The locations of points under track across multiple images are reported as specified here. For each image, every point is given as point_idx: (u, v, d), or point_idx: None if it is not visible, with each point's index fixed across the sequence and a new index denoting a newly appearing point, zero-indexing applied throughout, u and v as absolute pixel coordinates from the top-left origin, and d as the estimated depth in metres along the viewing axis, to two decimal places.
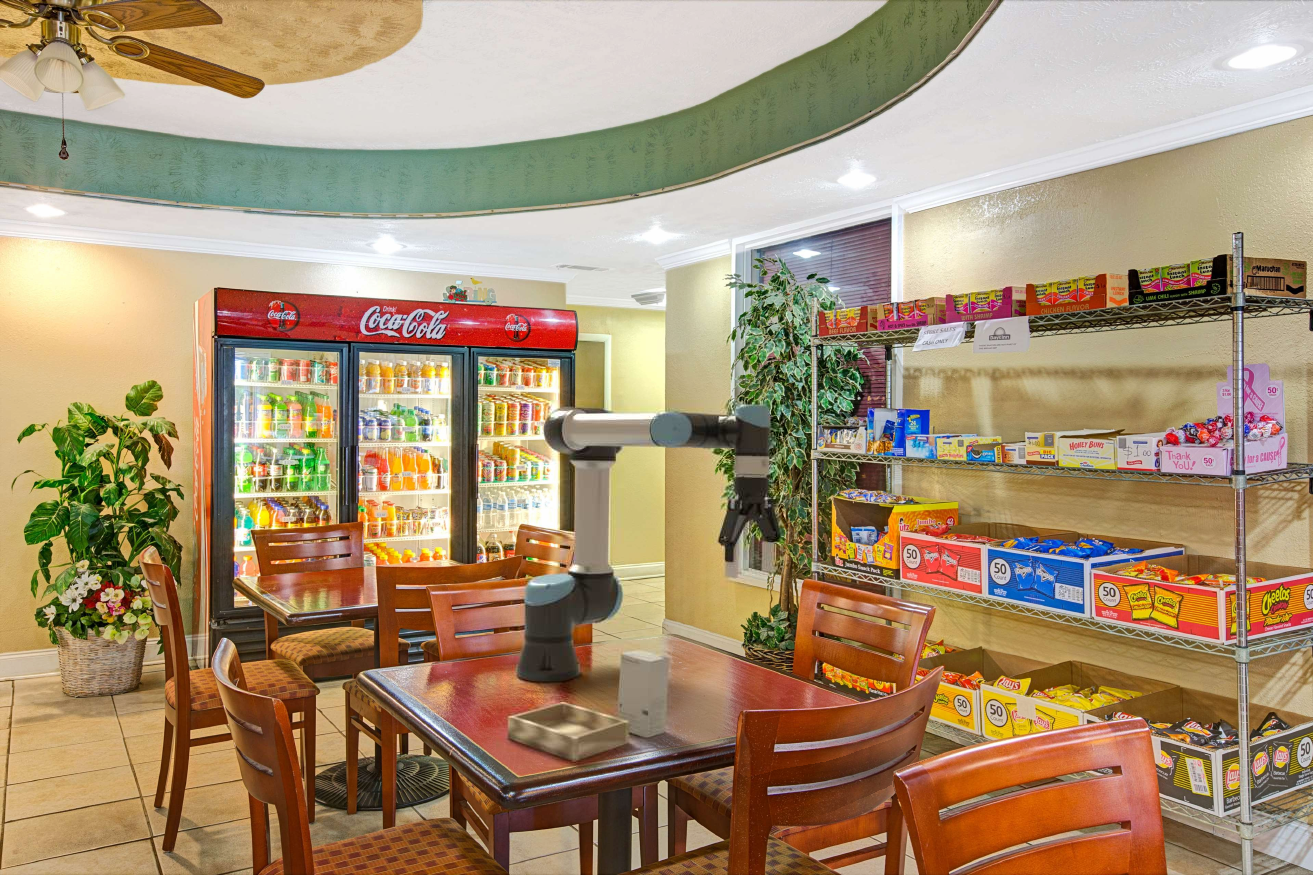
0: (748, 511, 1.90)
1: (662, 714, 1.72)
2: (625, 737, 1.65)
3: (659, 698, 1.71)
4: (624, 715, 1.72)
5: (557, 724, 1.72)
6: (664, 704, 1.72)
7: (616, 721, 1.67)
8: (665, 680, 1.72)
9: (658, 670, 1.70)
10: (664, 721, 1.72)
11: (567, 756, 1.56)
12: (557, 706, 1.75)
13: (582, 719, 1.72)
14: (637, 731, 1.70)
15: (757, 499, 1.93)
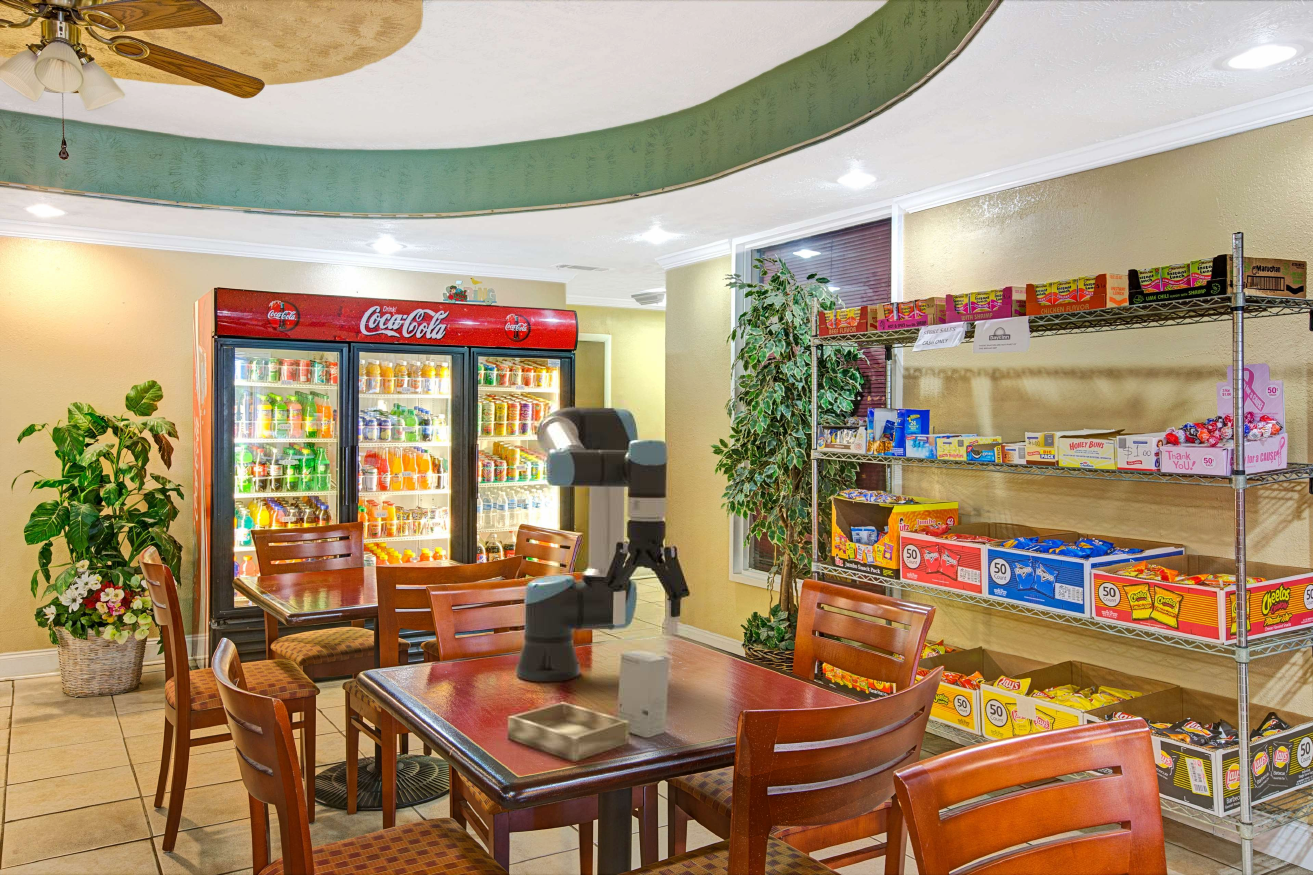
0: None
1: (662, 714, 1.72)
2: (625, 737, 1.65)
3: (659, 698, 1.71)
4: (624, 715, 1.72)
5: (557, 724, 1.72)
6: (664, 704, 1.72)
7: (616, 721, 1.67)
8: (665, 680, 1.72)
9: (658, 670, 1.70)
10: (664, 721, 1.72)
11: (567, 756, 1.56)
12: (557, 706, 1.75)
13: (582, 719, 1.72)
14: (637, 731, 1.70)
15: (644, 545, 1.72)
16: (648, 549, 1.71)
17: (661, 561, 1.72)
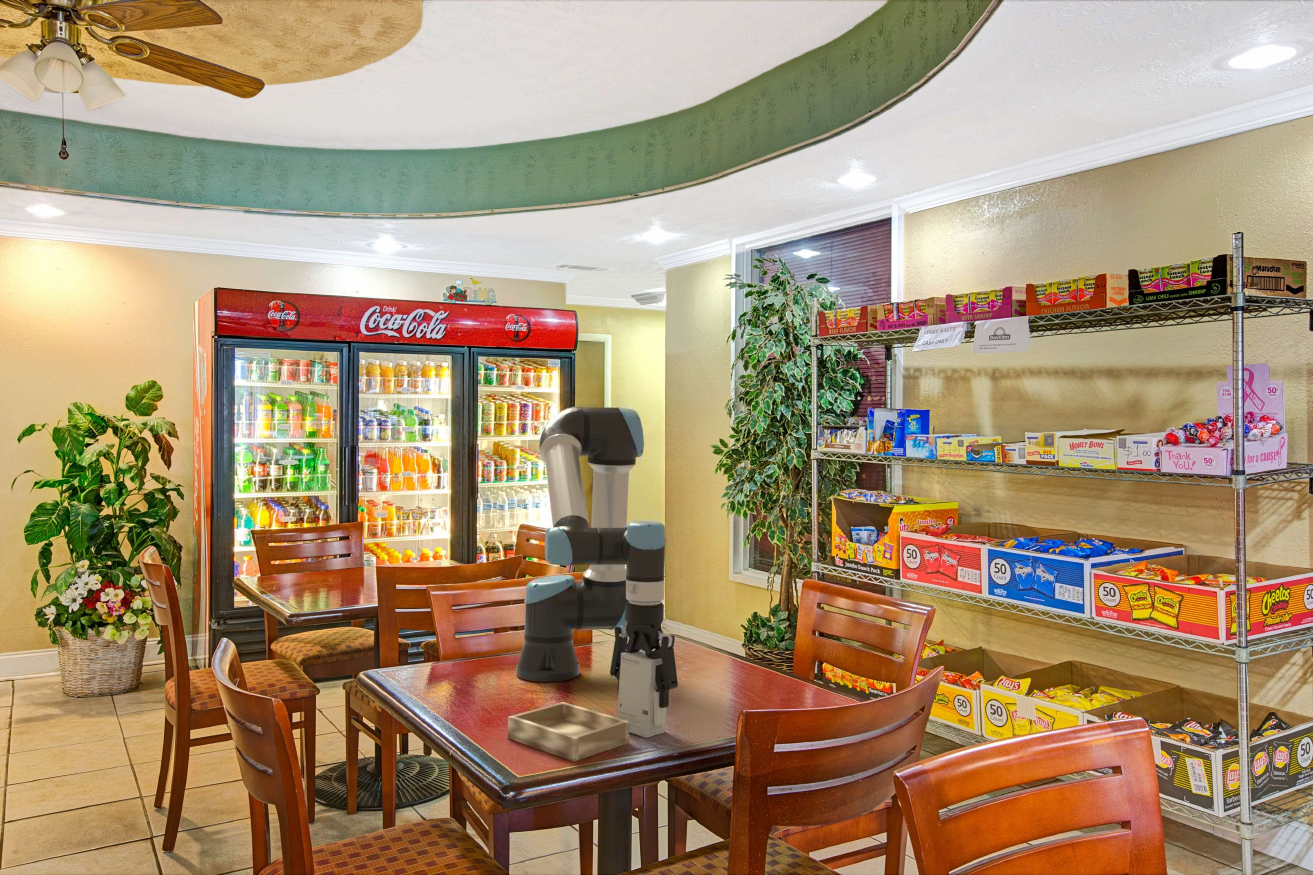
0: None
1: None
2: (625, 737, 1.65)
3: None
4: (623, 715, 1.72)
5: (557, 724, 1.72)
6: None
7: (616, 721, 1.67)
8: None
9: None
10: None
11: (567, 756, 1.56)
12: (557, 706, 1.75)
13: (582, 719, 1.72)
14: (637, 730, 1.70)
15: (644, 625, 1.72)
16: (646, 630, 1.71)
17: (657, 646, 1.72)
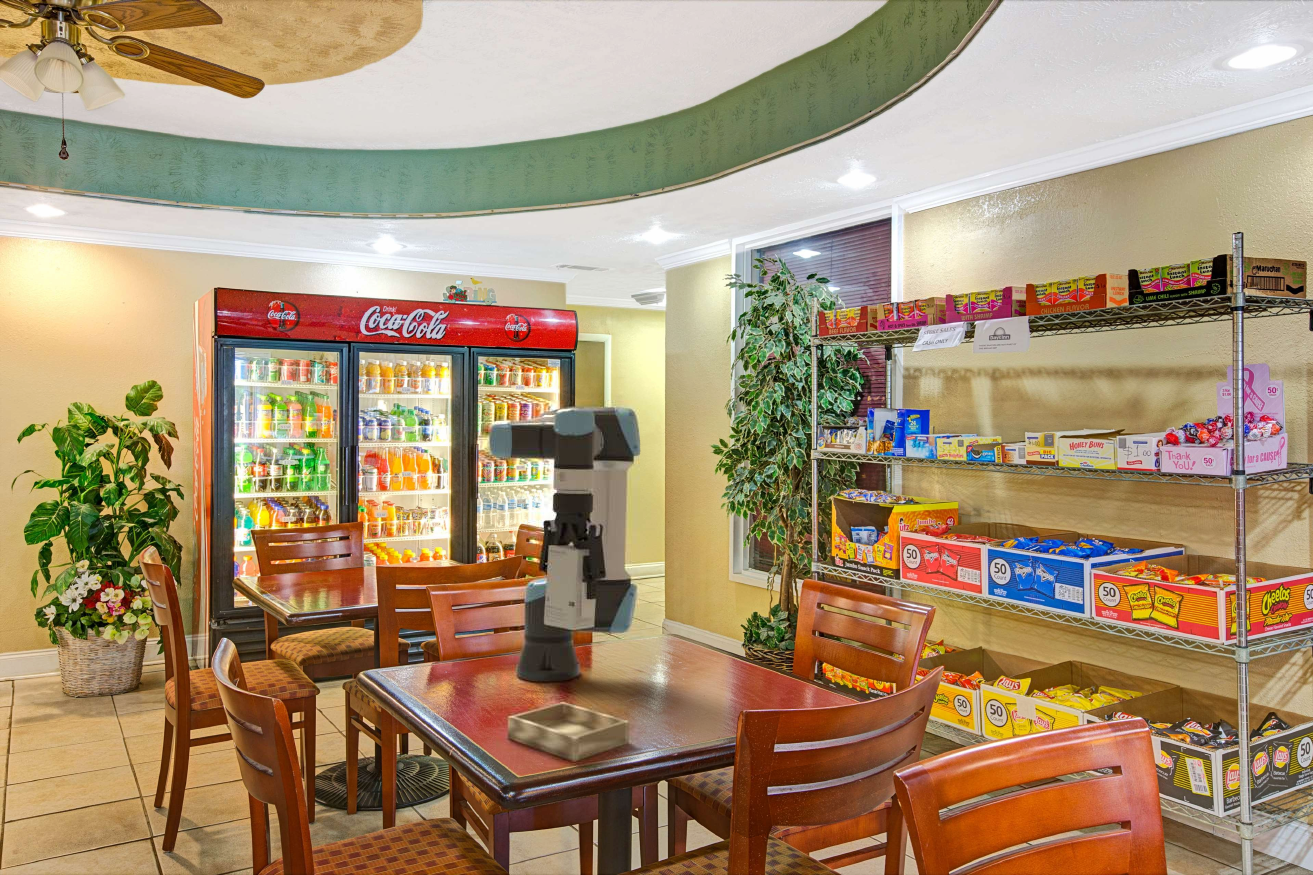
0: None
1: None
2: (625, 737, 1.65)
3: None
4: (551, 609, 1.66)
5: (557, 724, 1.72)
6: None
7: (616, 721, 1.67)
8: None
9: None
10: None
11: (567, 756, 1.56)
12: (557, 706, 1.75)
13: (582, 719, 1.72)
14: (564, 624, 1.64)
15: (572, 515, 1.65)
16: (574, 521, 1.65)
17: (586, 537, 1.66)
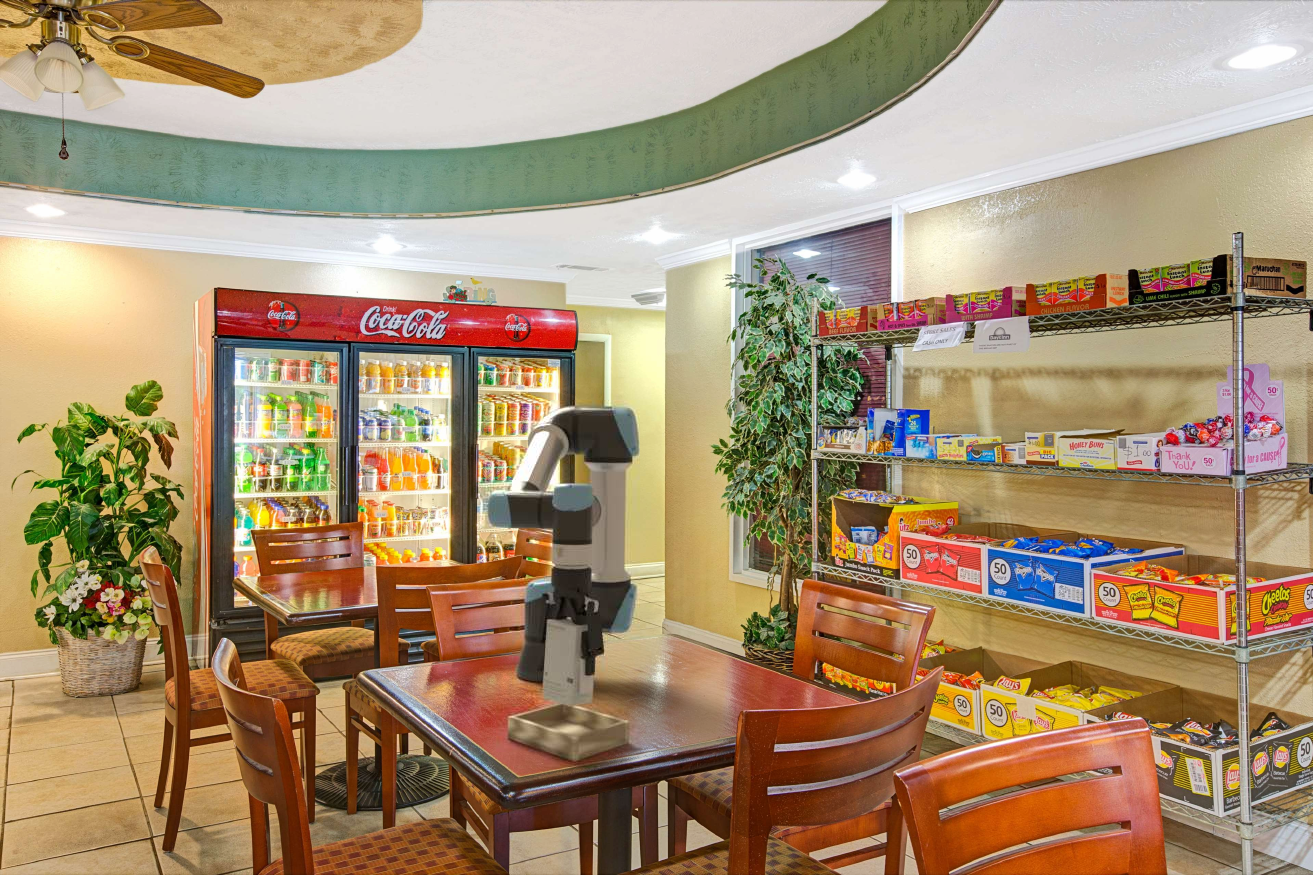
0: None
1: None
2: (625, 737, 1.65)
3: None
4: (549, 684, 1.66)
5: (557, 724, 1.72)
6: None
7: (616, 721, 1.67)
8: None
9: None
10: None
11: (567, 756, 1.56)
12: (557, 706, 1.75)
13: (582, 719, 1.72)
14: (562, 699, 1.63)
15: (570, 590, 1.65)
16: (573, 596, 1.65)
17: (584, 612, 1.66)
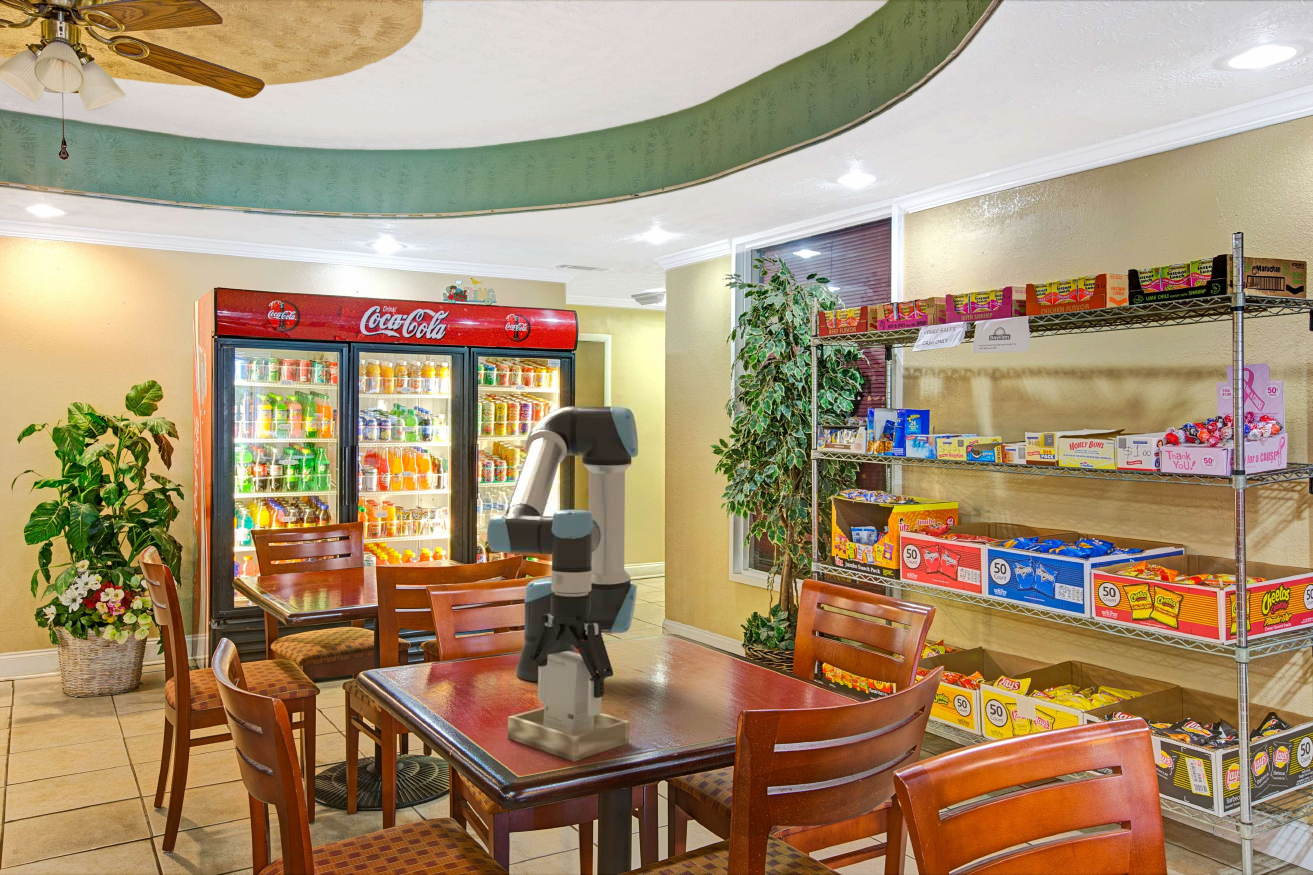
0: None
1: (589, 718, 1.65)
2: (625, 737, 1.65)
3: (586, 702, 1.64)
4: (550, 719, 1.66)
5: None
6: None
7: (616, 721, 1.67)
8: None
9: (585, 673, 1.63)
10: (592, 725, 1.65)
11: (567, 756, 1.56)
12: None
13: None
14: None
15: (568, 621, 1.65)
16: (572, 625, 1.65)
17: (586, 637, 1.66)
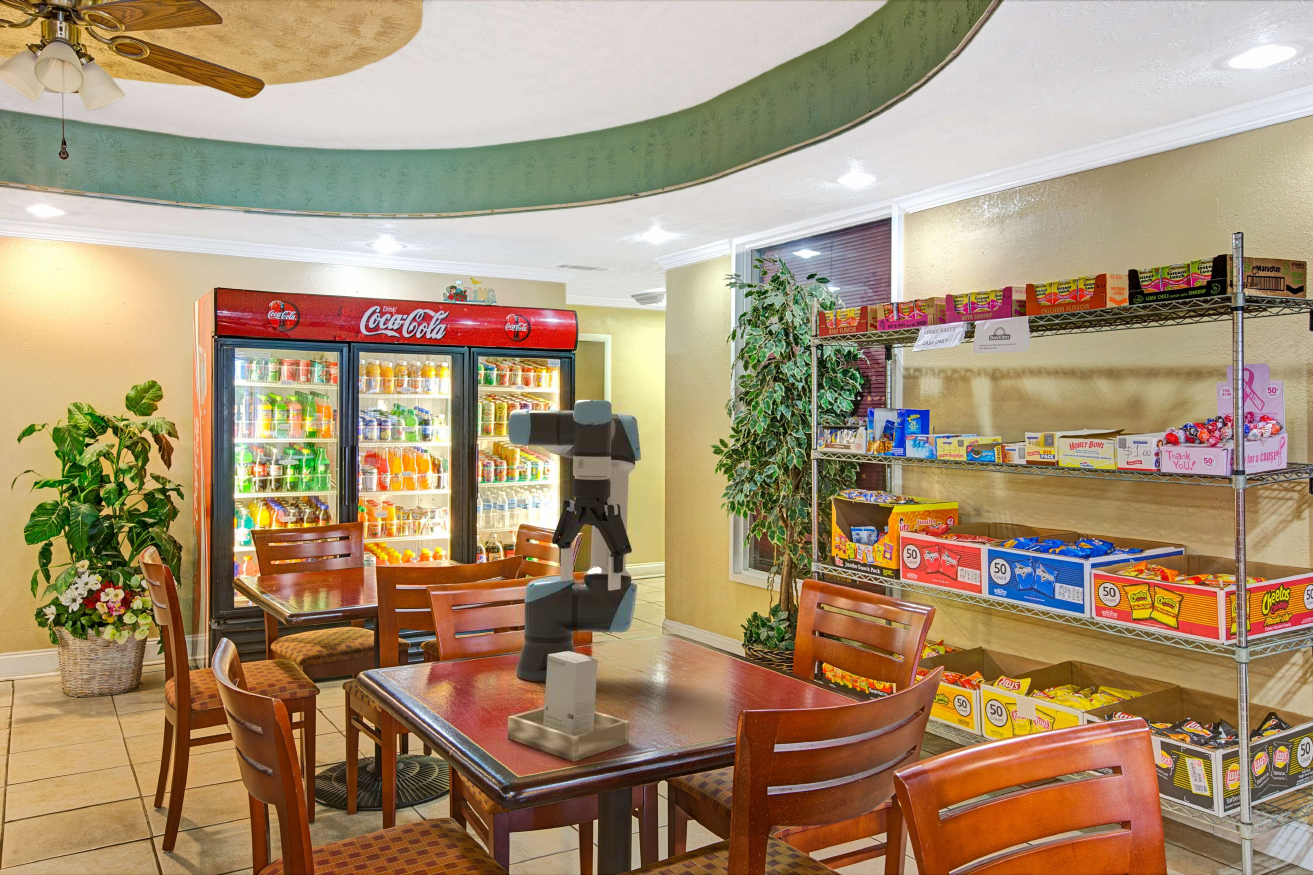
0: None
1: (589, 718, 1.65)
2: (625, 737, 1.65)
3: (586, 702, 1.64)
4: (550, 719, 1.66)
5: None
6: (591, 707, 1.65)
7: (616, 721, 1.67)
8: (593, 682, 1.65)
9: (585, 673, 1.63)
10: (592, 725, 1.65)
11: (567, 756, 1.56)
12: None
13: None
14: None
15: (589, 503, 1.75)
16: (593, 507, 1.75)
17: (606, 519, 1.76)
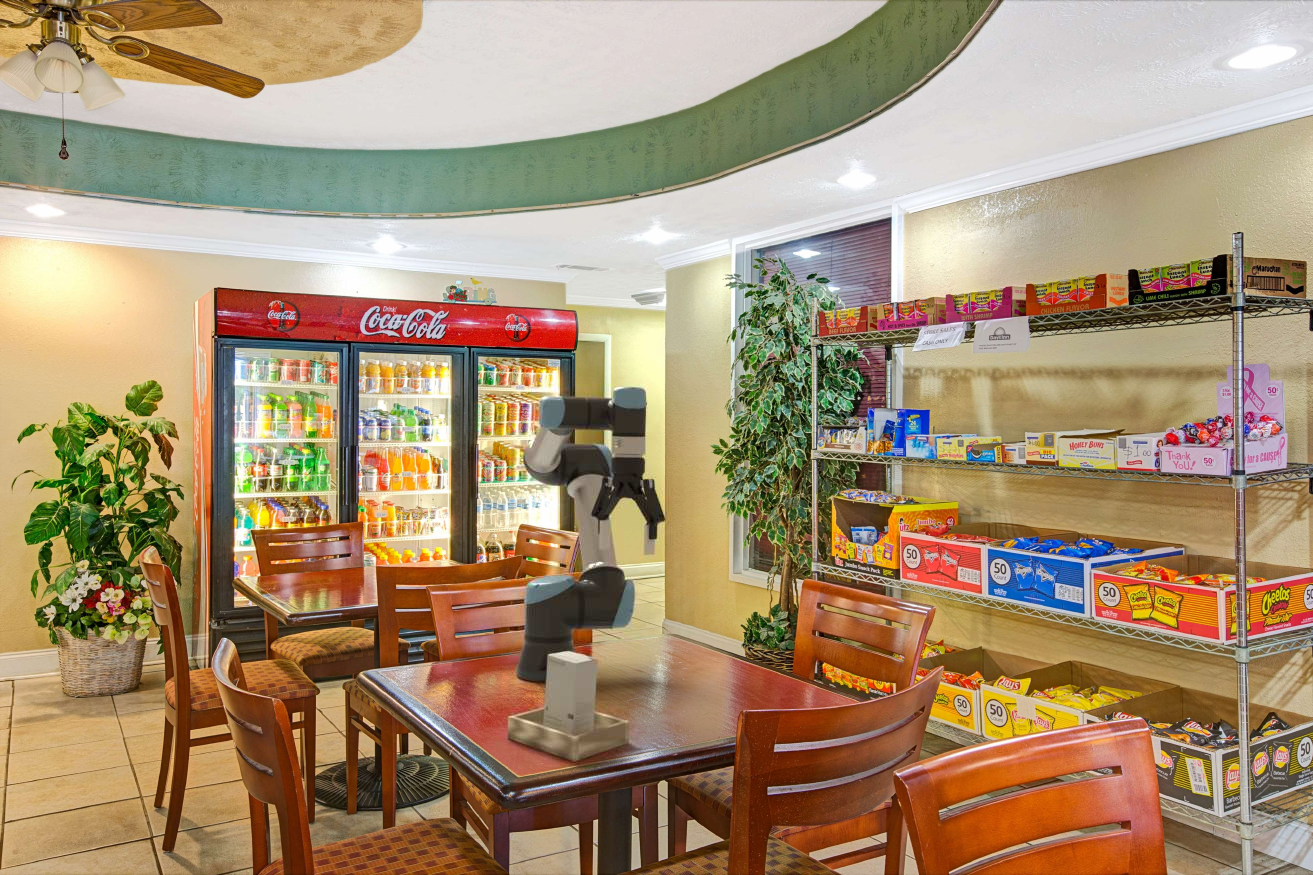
0: None
1: (589, 718, 1.65)
2: (625, 737, 1.65)
3: (586, 702, 1.64)
4: (550, 719, 1.66)
5: None
6: (591, 707, 1.65)
7: (616, 721, 1.67)
8: (593, 682, 1.65)
9: (585, 673, 1.63)
10: (592, 725, 1.65)
11: (567, 756, 1.56)
12: None
13: None
14: None
15: (626, 479, 1.98)
16: (629, 482, 1.97)
17: (641, 492, 1.98)
